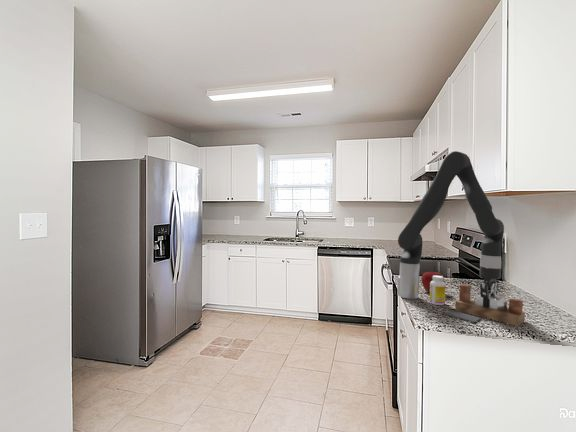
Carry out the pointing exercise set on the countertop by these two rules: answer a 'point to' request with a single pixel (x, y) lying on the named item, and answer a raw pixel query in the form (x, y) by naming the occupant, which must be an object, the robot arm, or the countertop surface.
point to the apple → (428, 279)
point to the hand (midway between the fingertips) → (488, 305)
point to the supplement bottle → (437, 290)
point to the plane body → (469, 306)
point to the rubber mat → (461, 316)
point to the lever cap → (493, 303)
